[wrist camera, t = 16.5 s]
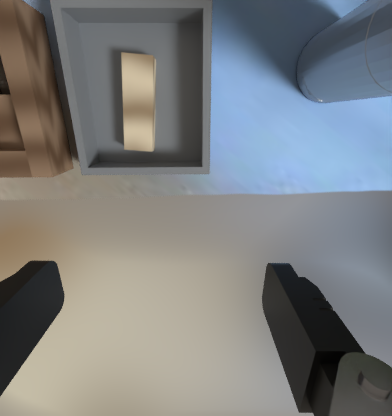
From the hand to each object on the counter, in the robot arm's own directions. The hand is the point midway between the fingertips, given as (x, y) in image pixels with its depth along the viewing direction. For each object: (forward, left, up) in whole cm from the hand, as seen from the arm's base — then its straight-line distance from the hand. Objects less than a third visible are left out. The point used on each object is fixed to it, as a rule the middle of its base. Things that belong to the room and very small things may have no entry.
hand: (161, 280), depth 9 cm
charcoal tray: (-2, -10, -30) cm, 32 cm away
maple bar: (-1, -10, -30) cm, 31 cm away
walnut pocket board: (+10, -23, -30) cm, 39 cm away
